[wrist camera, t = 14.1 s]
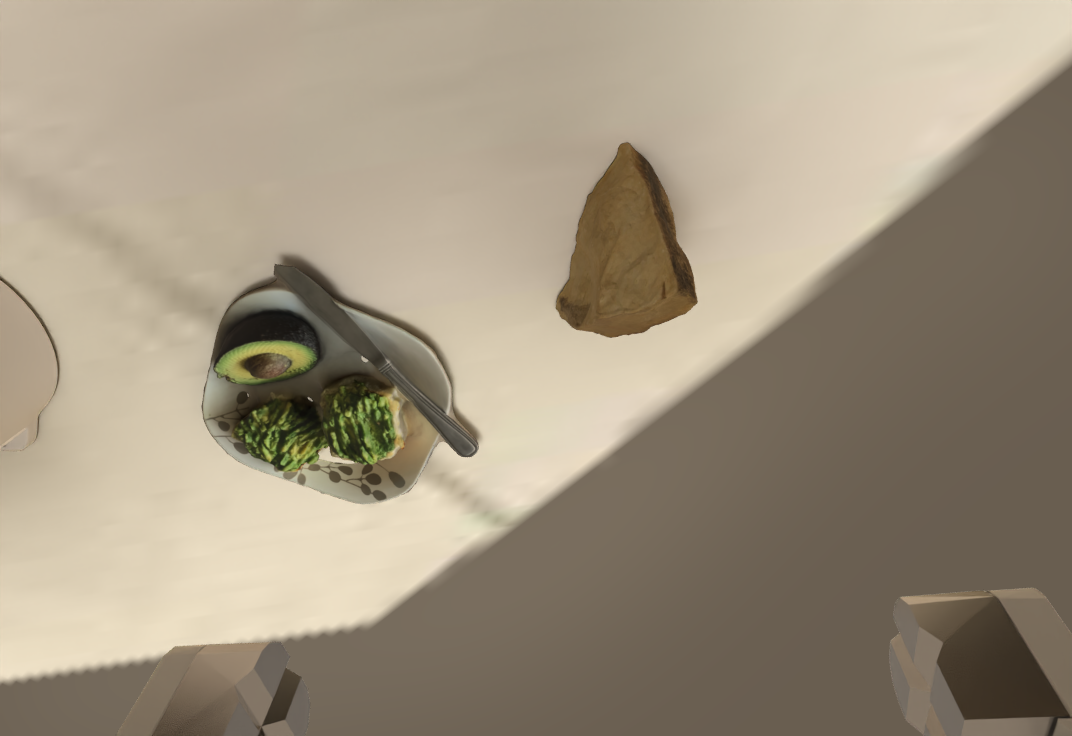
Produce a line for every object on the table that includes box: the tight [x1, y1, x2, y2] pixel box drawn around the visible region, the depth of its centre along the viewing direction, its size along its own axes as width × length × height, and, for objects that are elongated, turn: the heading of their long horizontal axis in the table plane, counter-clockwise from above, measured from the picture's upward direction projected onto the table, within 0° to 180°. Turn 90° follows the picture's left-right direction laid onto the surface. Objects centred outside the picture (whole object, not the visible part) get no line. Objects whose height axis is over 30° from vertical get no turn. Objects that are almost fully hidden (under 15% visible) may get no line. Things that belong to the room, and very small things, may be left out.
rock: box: [556, 143, 698, 338], centre depth 41 cm, size 11×9×10 cm
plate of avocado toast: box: [202, 264, 479, 504], centre depth 49 cm, size 19×18×5 cm
